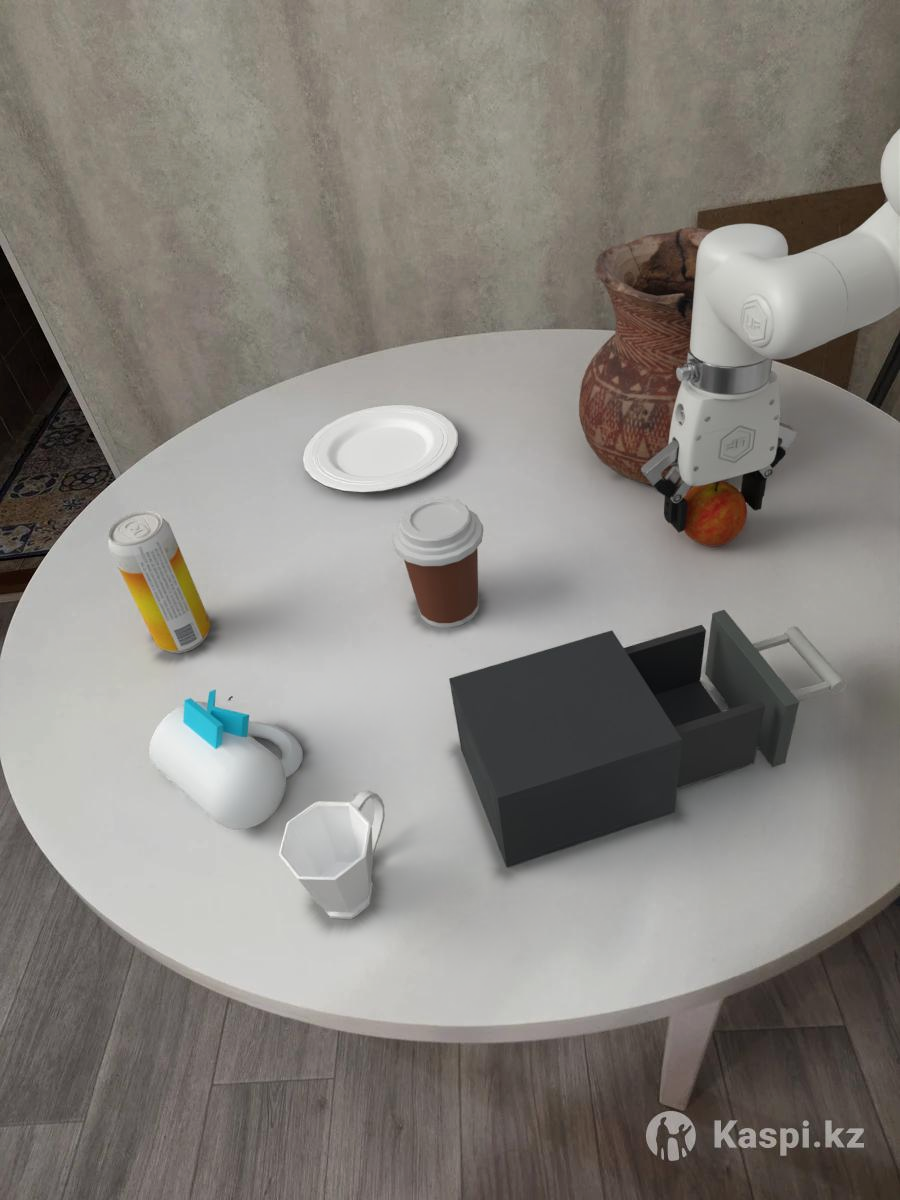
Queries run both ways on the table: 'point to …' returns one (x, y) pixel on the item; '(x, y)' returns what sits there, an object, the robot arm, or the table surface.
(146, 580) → the beer can
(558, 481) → the table surface
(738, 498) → the fruit
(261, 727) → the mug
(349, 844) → the cup
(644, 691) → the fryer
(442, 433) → the plate
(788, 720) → the grey drawer
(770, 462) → the robot arm
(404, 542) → the coffee cup
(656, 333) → the jug
